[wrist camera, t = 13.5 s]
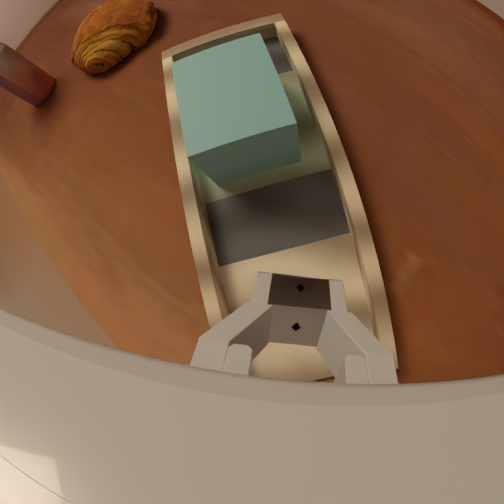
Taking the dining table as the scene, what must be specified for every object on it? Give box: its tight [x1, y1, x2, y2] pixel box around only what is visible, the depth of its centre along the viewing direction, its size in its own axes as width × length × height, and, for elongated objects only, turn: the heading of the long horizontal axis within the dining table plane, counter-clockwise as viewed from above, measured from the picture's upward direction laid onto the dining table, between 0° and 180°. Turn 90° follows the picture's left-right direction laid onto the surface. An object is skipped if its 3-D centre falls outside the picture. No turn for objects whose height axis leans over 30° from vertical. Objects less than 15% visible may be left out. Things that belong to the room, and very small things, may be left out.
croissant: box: [71, 0, 157, 74], centre depth 30 cm, size 14×16×8 cm
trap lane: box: [161, 13, 398, 381], centre depth 26 cm, size 38×14×3 cm, turn 14°
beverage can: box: [0, 43, 54, 106], centre depth 29 cm, size 6×6×15 cm
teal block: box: [172, 33, 301, 186], centre depth 24 cm, size 10×8×8 cm
